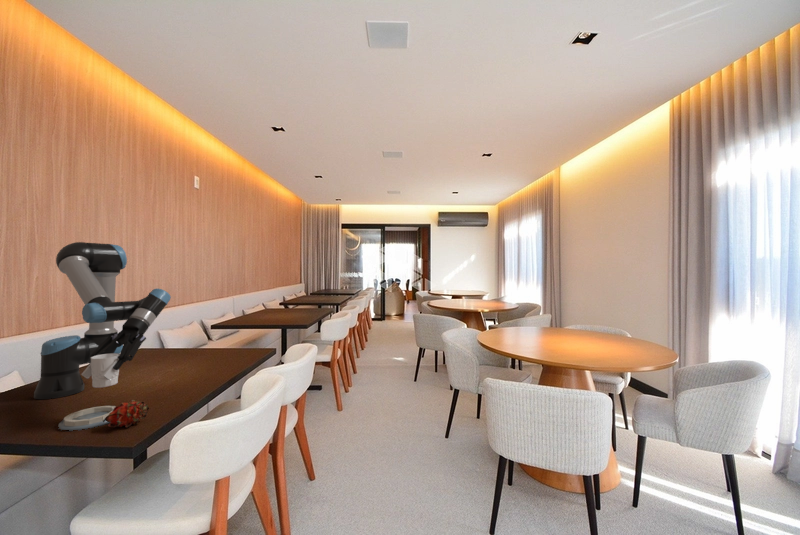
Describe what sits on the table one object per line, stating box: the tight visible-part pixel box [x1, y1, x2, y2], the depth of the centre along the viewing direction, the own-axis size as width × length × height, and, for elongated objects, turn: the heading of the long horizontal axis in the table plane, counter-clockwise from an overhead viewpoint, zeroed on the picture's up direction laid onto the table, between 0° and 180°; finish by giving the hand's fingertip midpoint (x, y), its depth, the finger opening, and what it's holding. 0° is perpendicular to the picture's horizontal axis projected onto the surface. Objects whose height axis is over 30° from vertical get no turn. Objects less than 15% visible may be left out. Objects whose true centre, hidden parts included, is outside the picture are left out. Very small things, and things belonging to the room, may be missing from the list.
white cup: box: [90, 353, 120, 388], centre depth 119 cm, size 8×8×10 cm
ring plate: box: [58, 405, 117, 432], centre depth 117 cm, size 16×16×2 cm
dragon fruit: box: [103, 399, 150, 428], centre depth 113 cm, size 8×8×12 cm
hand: (95, 377), depth 116 cm, fingers closed on white cup, 8 cm apart
